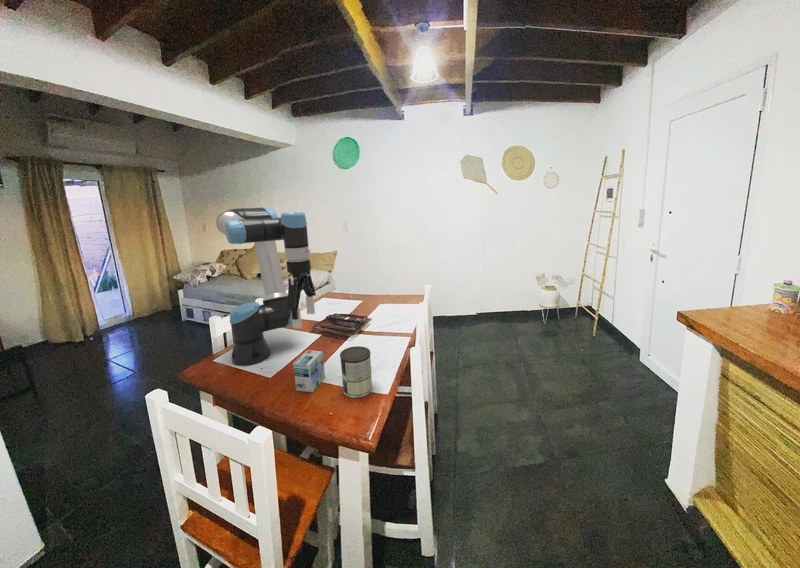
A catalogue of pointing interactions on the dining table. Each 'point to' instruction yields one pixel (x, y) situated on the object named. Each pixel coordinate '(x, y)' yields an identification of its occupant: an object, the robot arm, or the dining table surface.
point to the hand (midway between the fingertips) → (304, 320)
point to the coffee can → (356, 371)
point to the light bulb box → (309, 370)
